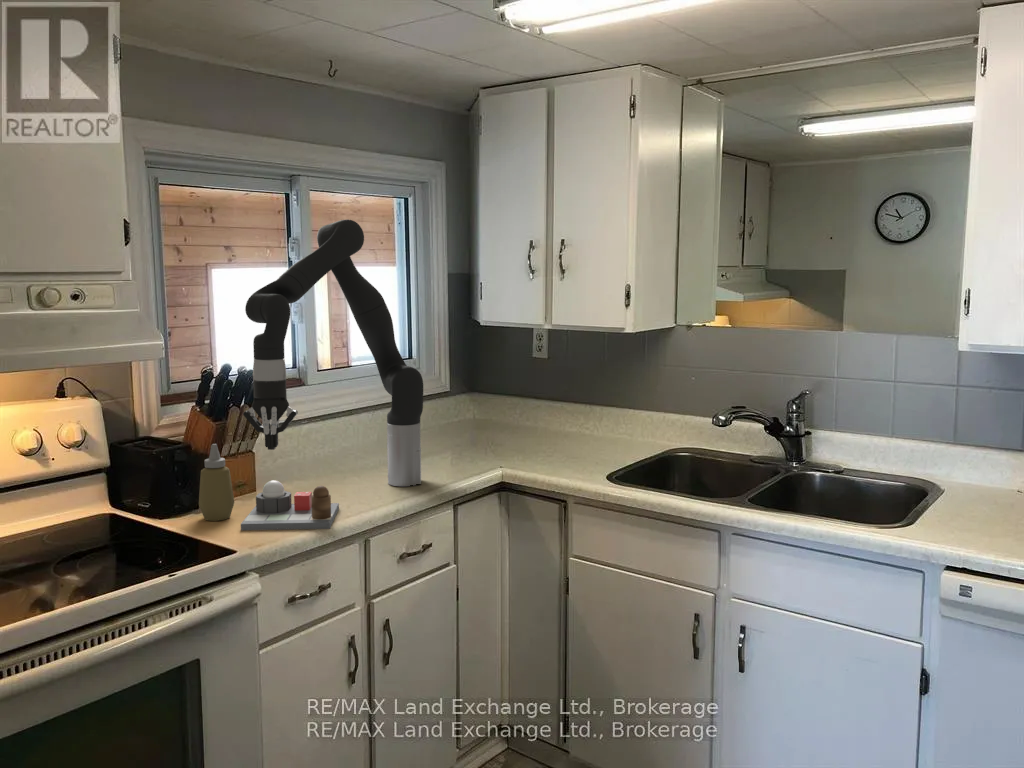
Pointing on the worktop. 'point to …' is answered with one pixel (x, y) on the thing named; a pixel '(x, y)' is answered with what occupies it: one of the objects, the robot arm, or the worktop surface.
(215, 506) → the squeeze bottle
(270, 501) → the board
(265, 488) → the dome
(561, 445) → the worktop surface
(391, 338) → the robot arm
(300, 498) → the red die
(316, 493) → the cylinder
